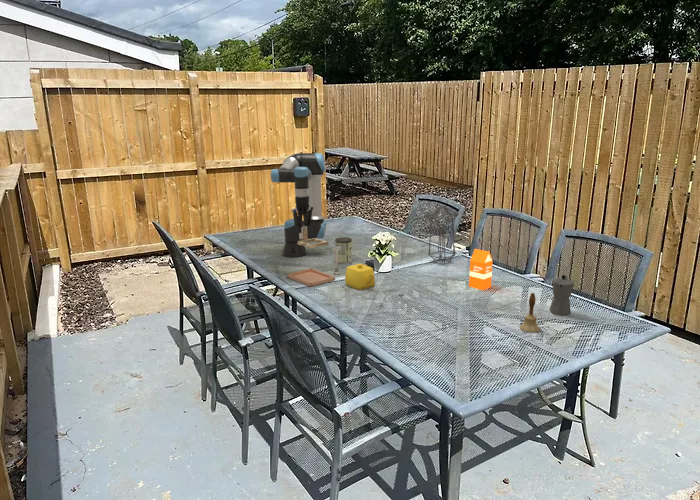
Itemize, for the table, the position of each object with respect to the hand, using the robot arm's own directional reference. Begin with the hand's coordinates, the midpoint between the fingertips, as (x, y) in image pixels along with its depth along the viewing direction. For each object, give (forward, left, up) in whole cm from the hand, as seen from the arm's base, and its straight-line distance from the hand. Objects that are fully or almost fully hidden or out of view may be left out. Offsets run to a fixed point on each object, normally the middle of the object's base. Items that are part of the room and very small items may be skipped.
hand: (303, 238), depth 295 cm
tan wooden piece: (+6, 0, -2) cm, 6 cm away
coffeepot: (+123, +56, -23) cm, 137 cm away
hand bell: (+124, +28, -23) cm, 129 cm away
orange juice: (+77, +58, -23) cm, 99 cm away
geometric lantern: (+33, +79, -23) cm, 89 cm away
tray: (+6, 0, -22) cm, 23 cm away
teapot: (+33, +13, -23) cm, 42 cm away
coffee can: (-8, +36, -23) cm, 43 cm away
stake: (+8, +17, -22) cm, 29 cm away
